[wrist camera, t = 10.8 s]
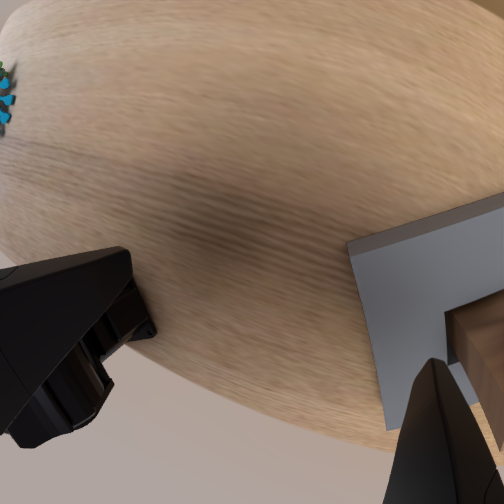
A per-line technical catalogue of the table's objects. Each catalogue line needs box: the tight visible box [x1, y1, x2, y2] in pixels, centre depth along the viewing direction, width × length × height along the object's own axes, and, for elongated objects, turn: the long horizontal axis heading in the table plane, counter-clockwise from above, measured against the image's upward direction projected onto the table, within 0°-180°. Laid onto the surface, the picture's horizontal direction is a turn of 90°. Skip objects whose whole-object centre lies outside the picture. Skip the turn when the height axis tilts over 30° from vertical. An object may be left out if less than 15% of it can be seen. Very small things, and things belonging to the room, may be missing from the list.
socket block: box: [347, 192, 504, 431], centre depth 15 cm, size 16×14×4 cm
